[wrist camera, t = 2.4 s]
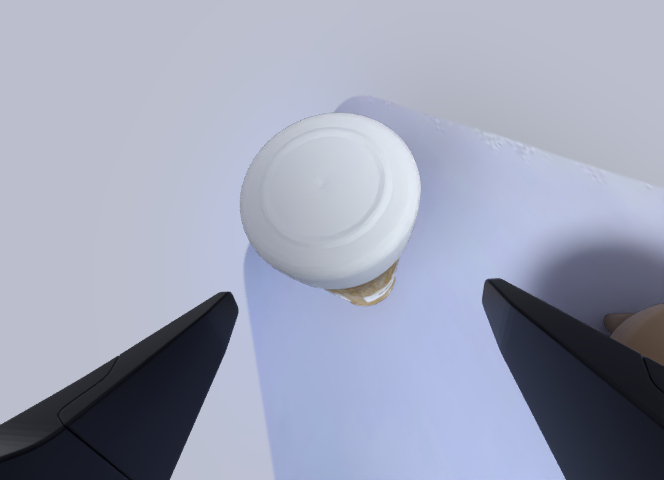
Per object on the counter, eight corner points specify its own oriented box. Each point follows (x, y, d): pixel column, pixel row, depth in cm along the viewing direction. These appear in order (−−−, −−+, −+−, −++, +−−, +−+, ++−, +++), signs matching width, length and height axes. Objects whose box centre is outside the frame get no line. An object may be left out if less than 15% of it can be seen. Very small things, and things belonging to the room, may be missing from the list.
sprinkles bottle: (402, 300, 17) (453, 255, 5) (338, 311, 18) (235, 299, 5) (386, 239, 19) (395, 82, 6) (328, 251, 19) (229, 131, 7)
